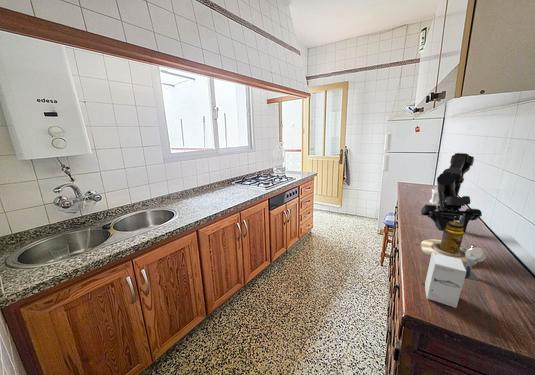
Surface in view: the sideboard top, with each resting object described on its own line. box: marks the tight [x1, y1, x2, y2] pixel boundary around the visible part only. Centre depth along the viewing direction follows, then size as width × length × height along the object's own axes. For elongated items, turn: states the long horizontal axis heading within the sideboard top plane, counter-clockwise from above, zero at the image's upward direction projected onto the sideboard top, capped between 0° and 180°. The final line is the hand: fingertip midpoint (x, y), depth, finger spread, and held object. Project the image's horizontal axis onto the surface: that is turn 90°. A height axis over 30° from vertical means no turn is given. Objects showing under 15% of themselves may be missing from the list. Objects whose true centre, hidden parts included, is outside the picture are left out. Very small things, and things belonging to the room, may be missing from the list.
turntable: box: [420, 238, 478, 267], centre depth 89 cm, size 18×18×2 cm
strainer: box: [429, 188, 440, 208], centre depth 135 cm, size 7×7×15 cm
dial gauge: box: [462, 244, 487, 282], centre depth 76 cm, size 8×5×12 cm, turn 160°
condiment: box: [433, 220, 465, 256], centre depth 87 cm, size 7×8×12 cm
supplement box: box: [424, 253, 467, 309], centre depth 66 cm, size 7×7×13 cm
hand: (452, 231), depth 86 cm, fingers open, 7 cm apart
